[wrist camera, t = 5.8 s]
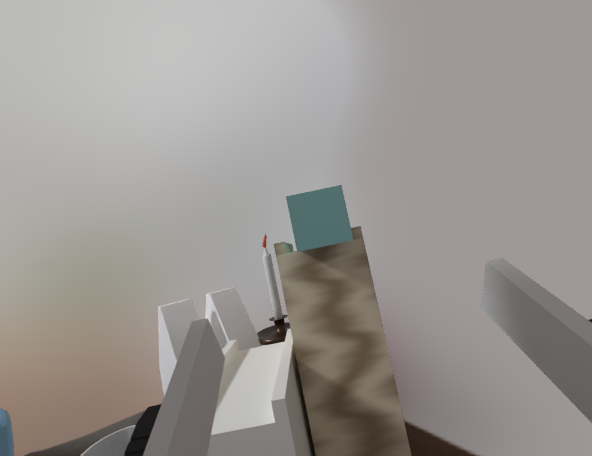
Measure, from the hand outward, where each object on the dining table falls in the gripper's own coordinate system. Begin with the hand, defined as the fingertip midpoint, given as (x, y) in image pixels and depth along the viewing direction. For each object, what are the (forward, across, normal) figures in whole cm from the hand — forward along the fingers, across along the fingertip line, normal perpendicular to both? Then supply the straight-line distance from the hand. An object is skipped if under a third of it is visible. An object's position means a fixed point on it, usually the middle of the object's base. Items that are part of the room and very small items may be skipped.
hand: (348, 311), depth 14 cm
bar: (+20, 0, -8) cm, 21 cm away
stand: (+8, 0, -35) cm, 36 cm away
